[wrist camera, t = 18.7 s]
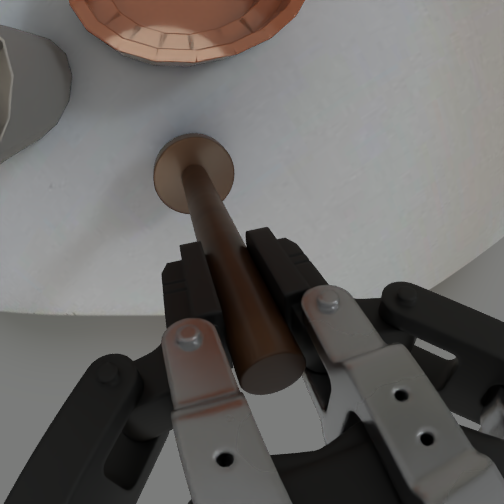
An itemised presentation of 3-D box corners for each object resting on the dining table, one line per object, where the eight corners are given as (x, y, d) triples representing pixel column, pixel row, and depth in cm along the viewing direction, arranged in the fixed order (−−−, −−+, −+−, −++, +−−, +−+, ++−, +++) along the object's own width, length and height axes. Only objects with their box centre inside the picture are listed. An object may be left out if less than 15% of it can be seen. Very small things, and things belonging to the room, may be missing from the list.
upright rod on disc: (143, 194, 20) (141, 424, 7) (170, 122, 18) (209, 258, 5) (212, 214, 22) (304, 425, 9) (241, 148, 20) (406, 305, 7)
